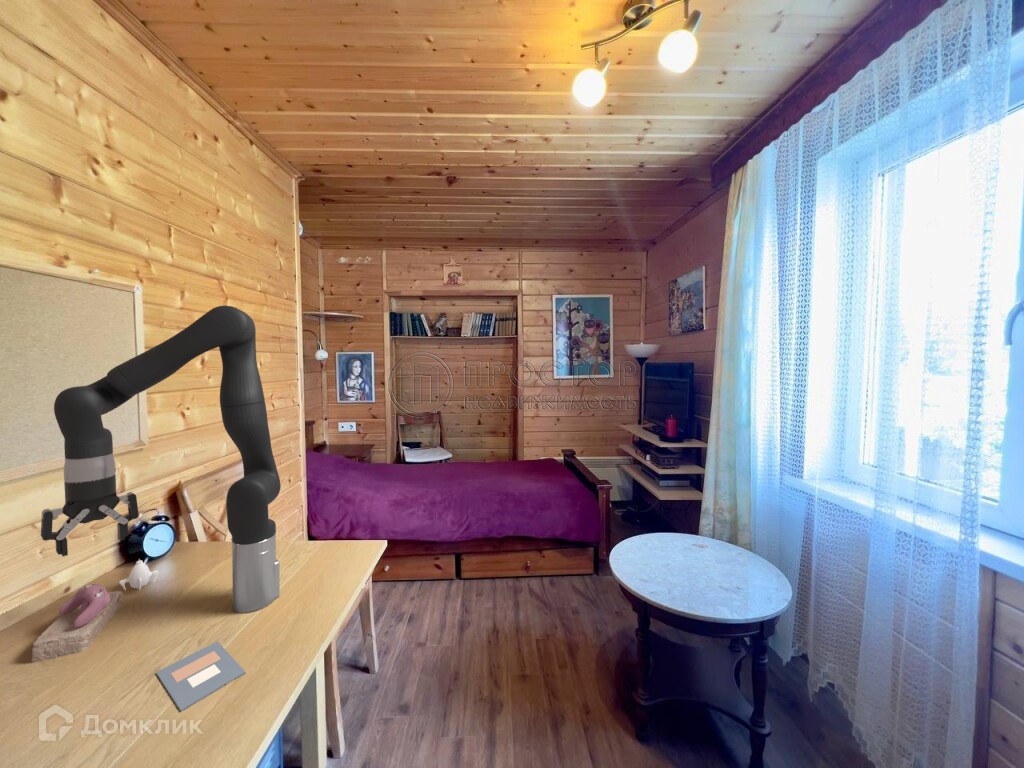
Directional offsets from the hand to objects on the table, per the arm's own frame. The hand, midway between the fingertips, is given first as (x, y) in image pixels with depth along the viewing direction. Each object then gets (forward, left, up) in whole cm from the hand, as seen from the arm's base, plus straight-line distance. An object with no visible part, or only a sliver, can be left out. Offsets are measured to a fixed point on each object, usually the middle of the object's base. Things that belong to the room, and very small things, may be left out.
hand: (93, 546), depth 83 cm
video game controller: (+1, -1, -16) cm, 16 cm away
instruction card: (-9, +33, -20) cm, 39 cm away
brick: (+2, -3, -20) cm, 21 cm away
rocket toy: (-10, -14, -20) cm, 26 cm away
